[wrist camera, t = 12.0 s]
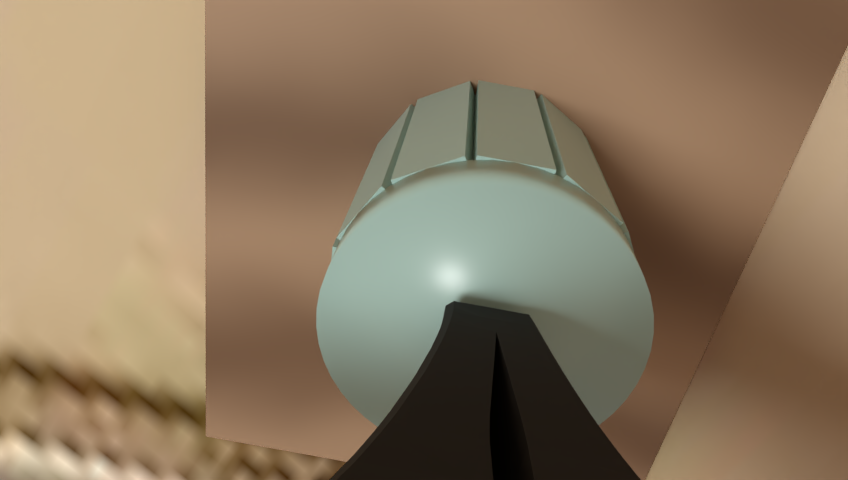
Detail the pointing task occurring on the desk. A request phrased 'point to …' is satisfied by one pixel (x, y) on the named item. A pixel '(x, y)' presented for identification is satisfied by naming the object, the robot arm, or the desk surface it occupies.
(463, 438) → the robot arm
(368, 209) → the cap
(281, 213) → the walnut board
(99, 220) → the desk surface
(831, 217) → the desk surface
